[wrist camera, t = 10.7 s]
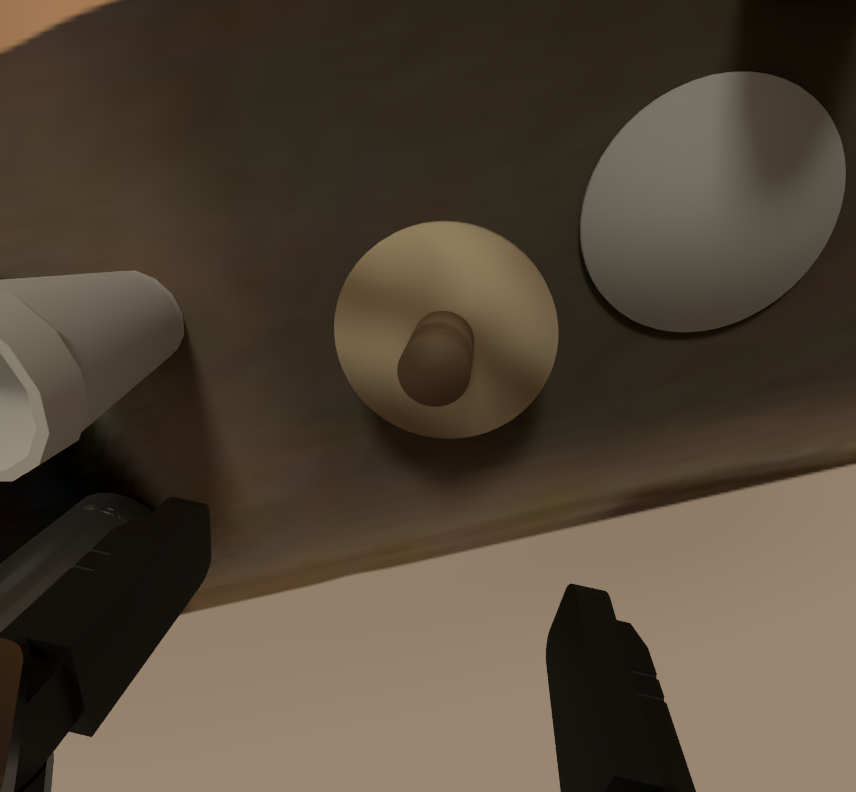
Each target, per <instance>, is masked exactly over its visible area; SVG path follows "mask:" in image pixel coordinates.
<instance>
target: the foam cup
mask: <svg viewBox="0 0 856 792" xmlns="http://www.w3.org/2000/svg"><path fill="white" fill-rule="evenodd" d="M183 336H184V322H183V314H182V312H181V310H180V308H179V306H178V304H177V302H176V300H175V298H174V296H173V295H172V294H171V293H170V292H169V291H168V290H167V289H166V288H165V287H164V286H163V285H162V284H161V283H159V282H158V281H157V280H156V279H155V278H152V277H150V276H147V275H145V274H142V273H140V272H137V271H120V272H105V273H91V274H77V275H63V276H49V277H35V278H20V279H6V280H0V481H14V480H15V479H17V478H19V477H20V476H22V475H23V474H25V473H27V472H28V471H30V470H32V469H33V468H35V467H36V466H38V465H40V464H41V463H43V462H44V461H46V460H48V459H49V458H51V457H52V456H54V455H55V454H57V453H59V452H60V451H62V450H63V449H65V448H66V447H68V446H70V445H71V444H73V443H74V442H76V441H77V440H78V439H79V437H80V434H81V432H82V431H83V430H84V429H85V428H87V427H88V426H89V425H90V424H91V423H92V422H94V421H95V420H96V419H97V418H98V417H100V416H101V415H102V414H103V413H104V412H105V411H107V410H108V409H109V408H110V407H111V406H112V405H114V404H115V403H116V402H117V401H118V400H120V399H121V398H122V397H123V396H124V395H125V394H127V393H128V392H129V391H130V390H131V389H132V388H134V387H135V386H136V385H137V384H138V383H140V382H141V381H142V380H143V379H144V378H145V377H147V376H148V375H149V374H150V373H151V372H152V371H154V370H155V369H156V368H157V367H158V366H159V365H161V364H162V363H163V362H164V361H165V360H167V359H168V358H169V357H170V356H171V355H172V354H173V353H174V352H175V351H176V350H178V348H179V346H180V343H181V341H182V339H183Z"/></svg>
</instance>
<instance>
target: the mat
mask: <svg viewBox="0 0 856 792" xmlns="http://www.w3.org/2000/svg"><path fill="white" fill-rule="evenodd" d="M845 178H846V169H845V156H844V151H843V147H842V142H841V139H840V136H839V134H838V131H837V129H836V126H835V124H834V122H833V121H832V119H831V117H830V116H829V114H828V113H827V111H826V110H825V108H824V107H823V106H822V105H821V104H820V103H819V102H818V101H817V100H816V99H815V98H814V97H813V96H812V95H811V94H809V93H808V92H807V91H805V90H804V89H803V88H801V87H800V86H798V85H796V84H794V83H792V82H790V81H788V80H786V79H783V78H780V77H777V76H773V75H770V74H765V73H757V72H727V73H721V74H714V75H710V76H707V77H703V78H700V79H697V80H693V81H691V82H689V83H686V84H684V85H682V86H680V87H677V88H675V89H673V90H671V91H669V92H667V93H666V94H664V95H662V96H661V97H659V98H657V99H656V100H654V101H653V102H651V103H650V104H649V105H647V106H646V107H645V108H643V109H642V110H641V111H639V112H638V113H637V114H636V115H635V116H634V117H633V118H632V119H631V120H630V121H629V122H627V123H626V124H625V125H624V126H623V128H622V129H621V130H620V131H619V132H618V133H617V135H616V136H615V137H614V138H613V139H612V141H611V142H610V143H609V145H608V146H607V148H606V149H605V151H604V152H603V154H602V155H601V157H600V159H599V161H598V163H597V165H596V167H595V168H594V170H593V172H592V175H591V177H590V180H589V183H588V185H587V188H586V191H585V195H584V199H583V203H582V209H581V216H580V242H581V250H582V255H583V258H584V262H585V266H586V268H587V270H588V273H589V275H590V277H591V279H592V281H593V282H594V284H595V286H596V287H597V289H598V290H599V292H600V293H601V294H602V295H603V296H604V298H605V299H606V300H607V301H608V302H609V303H610V304H611V305H612V306H613V307H614V308H616V309H617V310H618V311H619V312H620V313H622V314H623V315H625V316H627V317H628V318H630V319H631V320H633V321H636V322H638V323H640V324H642V325H645V326H648V327H651V328H654V329H658V330H664V331H670V332H698V331H706V330H711V329H716V328H720V327H723V326H726V325H730V324H733V323H735V322H738V321H740V320H742V319H745V318H747V317H749V316H751V315H753V314H755V313H757V312H758V311H760V310H762V309H764V308H765V307H767V306H768V305H770V304H771V303H773V302H774V301H776V300H777V299H778V298H780V297H781V296H782V295H783V294H784V293H786V292H787V291H788V290H789V289H790V288H792V287H793V286H794V285H795V284H796V283H797V282H798V281H799V279H800V278H801V277H802V276H803V275H804V274H805V273H806V272H807V271H808V269H809V268H810V267H811V266H812V264H813V263H814V262H815V260H816V259H817V258H818V256H819V255H820V253H821V251H822V250H823V248H824V247H825V245H826V243H827V241H828V239H829V237H830V235H831V233H832V231H833V229H834V227H835V224H836V221H837V218H838V215H839V213H840V210H841V205H842V201H843V196H844V191H845Z"/></svg>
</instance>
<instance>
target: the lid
mask: <svg viewBox="0 0 856 792" xmlns="http://www.w3.org/2000/svg"><path fill="white" fill-rule="evenodd" d="M334 333H335V344H336V349H337V354H338V358H339V361H340V363H341V366H342V369H343V371H344V373H345V375H346V377H347V379H348V381H349V383H350V384H351V386H352V387H353V389H354V390H355V392H356V393H357V394H358V396H359V397H360V398H361V399H362V400H363V402H364V403H365V404H366V405H367V406H369V407H370V408H371V409H372V410H373V411H374V412H375V413H376V414H378V415H379V416H381V417H382V418H383V419H385V420H386V421H388V422H390V423H391V424H393V425H395V426H397V427H399V428H401V429H404V430H406V431H408V432H411V433H415V434H418V435H421V436H427V437H432V438H443V439H454V438H465V437H471V436H476V435H480V434H483V433H486V432H489V431H491V430H494V429H496V428H498V427H500V426H502V425H504V424H506V423H507V422H509V421H511V420H512V419H514V418H515V417H516V416H518V415H519V414H520V413H522V412H523V411H524V410H525V409H526V408H527V407H528V406H529V405H530V404H531V403H532V402H533V400H534V399H535V398H536V397H537V395H538V394H539V393H540V391H541V390H542V388H543V386H544V385H545V383H546V381H547V379H548V377H549V375H550V372H551V370H552V368H553V364H554V361H555V357H556V353H557V345H558V321H557V314H556V309H555V305H554V302H553V299H552V296H551V293H550V291H549V289H548V287H547V285H546V283H545V281H544V279H543V277H542V275H541V274H540V272H539V271H538V269H537V268H536V266H535V265H534V263H533V262H532V261H531V260H530V259H529V258H528V256H527V255H526V254H525V253H524V252H523V251H522V250H520V249H519V248H518V247H517V246H516V245H515V244H513V243H512V242H511V241H509V240H507V239H506V238H504V237H503V236H501V235H500V234H497V233H495V232H493V231H491V230H489V229H487V228H484V227H481V226H477V225H474V224H471V223H465V222H458V221H434V222H426V223H421V224H418V225H414V226H410V227H408V228H405V229H403V230H401V231H398V232H396V233H394V234H392V235H391V236H389V237H387V238H386V239H384V240H382V241H381V242H379V243H378V244H377V245H375V246H374V247H373V248H372V249H370V250H369V251H368V252H367V253H366V254H365V255H364V256H363V257H362V258H361V259H360V260H359V262H358V263H357V264H356V265H355V267H354V268H353V270H352V271H351V273H350V274H349V275H348V277H347V279H346V281H345V283H344V285H343V287H342V290H341V293H340V296H339V299H338V302H337V307H336V313H335V324H334Z"/></svg>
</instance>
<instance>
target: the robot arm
mask: <svg viewBox="0 0 856 792" xmlns="http://www.w3.org/2000/svg"><path fill="white" fill-rule="evenodd" d="M210 561H211V537H210V515H209V508H208V506H207V505H206V504H204V503H199V502H195V501H190V500H185V499H181V498H176V497H170V498H168V499H166V500H165V501H164V502H163V503H162V504H161V505H160V506H159V507H158V508H157V509H156V510H155V511H154V512H152V511H151V510H150V509H149V508H147V507H146V506H144V505H143V504H141V503H139V502H138V501H135V500H133V499H131V498H129V497H126V496H122V495H119V494H114V493H97V494H93V495H90V496H87V497H86V498H84V499H83V500H82V501H80V502H79V503H78V504H76V505H75V506H74V507H73V508H71V509H70V510H69V511H67V512H66V513H65V514H64V515H62V516H61V517H60V518H59V519H57V520H56V521H55V522H53V523H52V524H51V525H50V526H48V527H47V528H46V529H44V530H43V531H42V532H40V533H39V534H38V535H36V536H35V537H34V538H33V539H31V540H30V541H29V542H28V543H26V544H25V545H24V546H22V547H21V548H20V549H19V550H17V551H16V552H15V553H14V554H12V555H11V556H10V557H9V558H7V559H6V560H5V561H3V562H2V563H1V564H0V792H51V785H52V773H53V763H54V754H53V751H54V750H55V749H56V747H57V746H58V745H59V743H60V742H61V741H62V740H63V738H64V737H65V736H66V734H67V733H68V732H73V733H77V734H81V735H85V736H90V737H92V736H93V735H94V733H95V732H96V731H97V729H98V728H99V726H100V725H101V723H102V722H103V721H104V719H105V718H106V717H107V715H108V714H109V712H110V711H111V710H112V708H113V707H114V705H115V704H116V703H117V701H118V700H119V698H120V697H121V695H122V694H123V693H124V691H125V690H126V689H127V687H128V686H129V684H130V683H131V682H132V680H133V679H134V678H135V676H136V674H137V673H138V672H139V671H140V669H141V668H142V666H143V665H144V664H145V662H146V661H147V659H148V658H149V657H150V655H151V654H152V652H153V651H154V650H155V648H156V647H157V645H158V644H159V643H160V641H161V640H162V638H163V637H164V636H165V634H166V633H167V631H168V630H169V629H170V627H171V626H172V625H173V623H174V622H175V620H176V619H177V618H178V616H179V615H180V613H181V612H182V611H183V609H184V608H185V606H186V605H187V604H188V602H189V601H190V599H191V598H192V597H193V595H194V594H195V592H196V591H197V590H198V588H199V587H200V585H201V584H202V582H203V581H204V579H205V577H206V574H207V572H208V569H209V566H210ZM546 664H547V674H548V683H549V692H550V700H551V709H552V718H553V727H554V736H555V745H556V753H557V762H558V771H559V780H560V789H561V792H696V790H695V788H694V785H693V782H692V778H691V776H690V773H689V770H688V767H687V764H686V761H685V758H684V755H683V752H682V749H681V746H680V743H679V740H678V737H677V734H676V731H675V728H674V725H673V722H672V719H671V716H670V713H669V710H668V707H667V704H666V703H665V702H664V695H663V692H662V689H661V686H660V683H659V680H657V679H656V675H657V674H656V671H655V668H654V665H653V662H652V659H651V656H650V653H649V650H648V648H647V646H646V645H645V643H644V642H643V640H642V639H641V638H640V636H639V635H638V634H637V632H636V631H635V629H634V628H633V626H632V625H631V624H630V623H627V622H622V621H618V620H616V617H615V614H614V610H613V607H612V603H611V600H610V597H609V595H608V593H607V592H606V591H603V590H598V589H593V588H589V587H584V586H580V585H575V584H569V585H568V586H567V588H566V591H565V593H564V595H563V598H562V600H561V603H560V606H559V608H558V610H557V613H556V616H555V618H554V621H553V623H552V626H551V628H550V632H549V634H548V639H547V647H546Z"/></svg>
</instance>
